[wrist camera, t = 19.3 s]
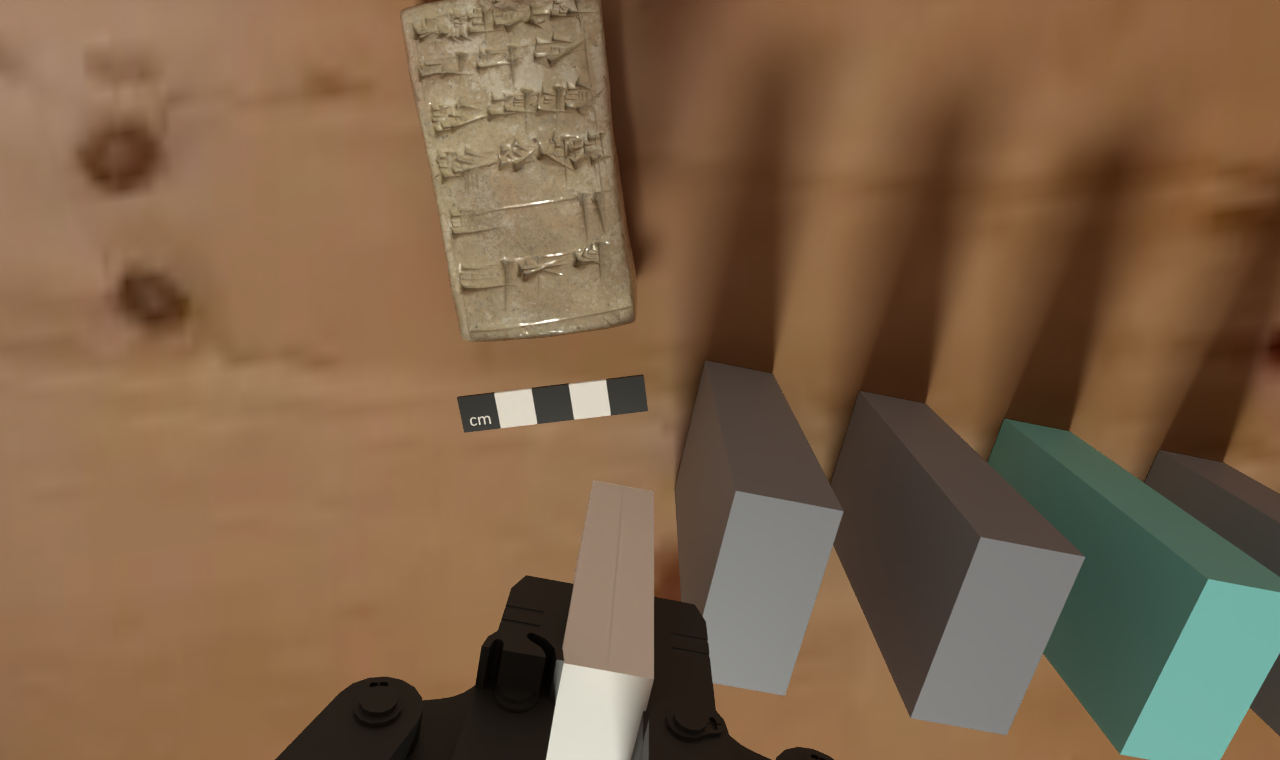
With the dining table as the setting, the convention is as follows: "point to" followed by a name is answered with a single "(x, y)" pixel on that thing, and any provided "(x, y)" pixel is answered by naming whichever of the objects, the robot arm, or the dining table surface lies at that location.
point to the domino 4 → (1228, 528)
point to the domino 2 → (946, 564)
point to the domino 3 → (1146, 602)
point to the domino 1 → (751, 526)
